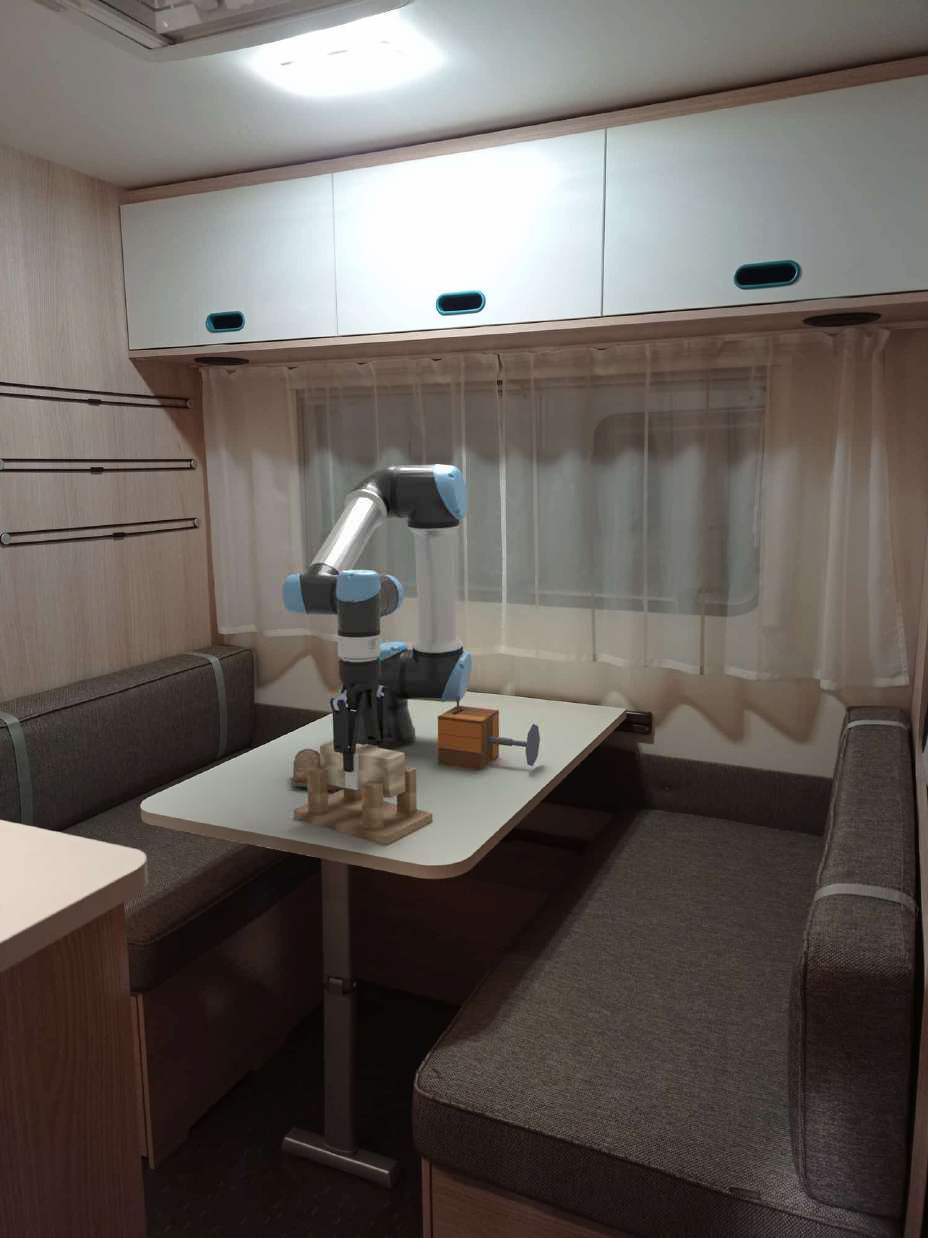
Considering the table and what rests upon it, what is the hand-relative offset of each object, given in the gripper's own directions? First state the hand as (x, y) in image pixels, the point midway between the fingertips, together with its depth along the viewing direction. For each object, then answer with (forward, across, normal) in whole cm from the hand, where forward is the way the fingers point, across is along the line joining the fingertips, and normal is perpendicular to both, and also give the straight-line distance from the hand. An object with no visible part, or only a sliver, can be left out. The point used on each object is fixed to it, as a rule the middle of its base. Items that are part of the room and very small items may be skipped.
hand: (362, 783), depth 162 cm
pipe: (+7, +10, +19) cm, 23 cm away
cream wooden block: (0, 0, 0) cm, 1 cm away
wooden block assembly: (+7, 0, 0) cm, 7 cm away
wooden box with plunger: (+7, +41, -1) cm, 41 cm away
